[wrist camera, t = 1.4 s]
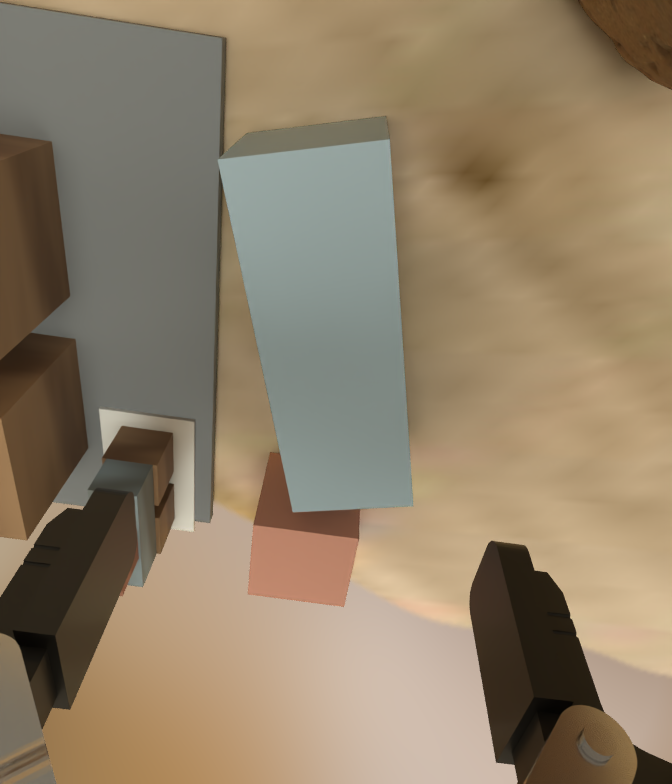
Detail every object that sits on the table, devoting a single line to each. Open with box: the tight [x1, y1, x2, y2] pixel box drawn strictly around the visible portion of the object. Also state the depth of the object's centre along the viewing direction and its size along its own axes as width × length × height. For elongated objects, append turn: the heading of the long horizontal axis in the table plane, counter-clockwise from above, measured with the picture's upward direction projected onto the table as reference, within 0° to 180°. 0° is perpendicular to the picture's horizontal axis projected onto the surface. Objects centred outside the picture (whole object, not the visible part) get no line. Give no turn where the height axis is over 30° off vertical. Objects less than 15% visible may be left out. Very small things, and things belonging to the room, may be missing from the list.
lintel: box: [218, 116, 413, 512], centre depth 22 cm, size 5×14×5 cm, turn 7°
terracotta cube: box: [248, 452, 360, 607], centre depth 28 cm, size 4×4×5 cm
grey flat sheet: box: [0, 2, 226, 523], centre depth 25 cm, size 16×22×1 cm
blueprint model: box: [88, 406, 195, 596], centre depth 26 cm, size 4×7×7 cm, turn 172°
